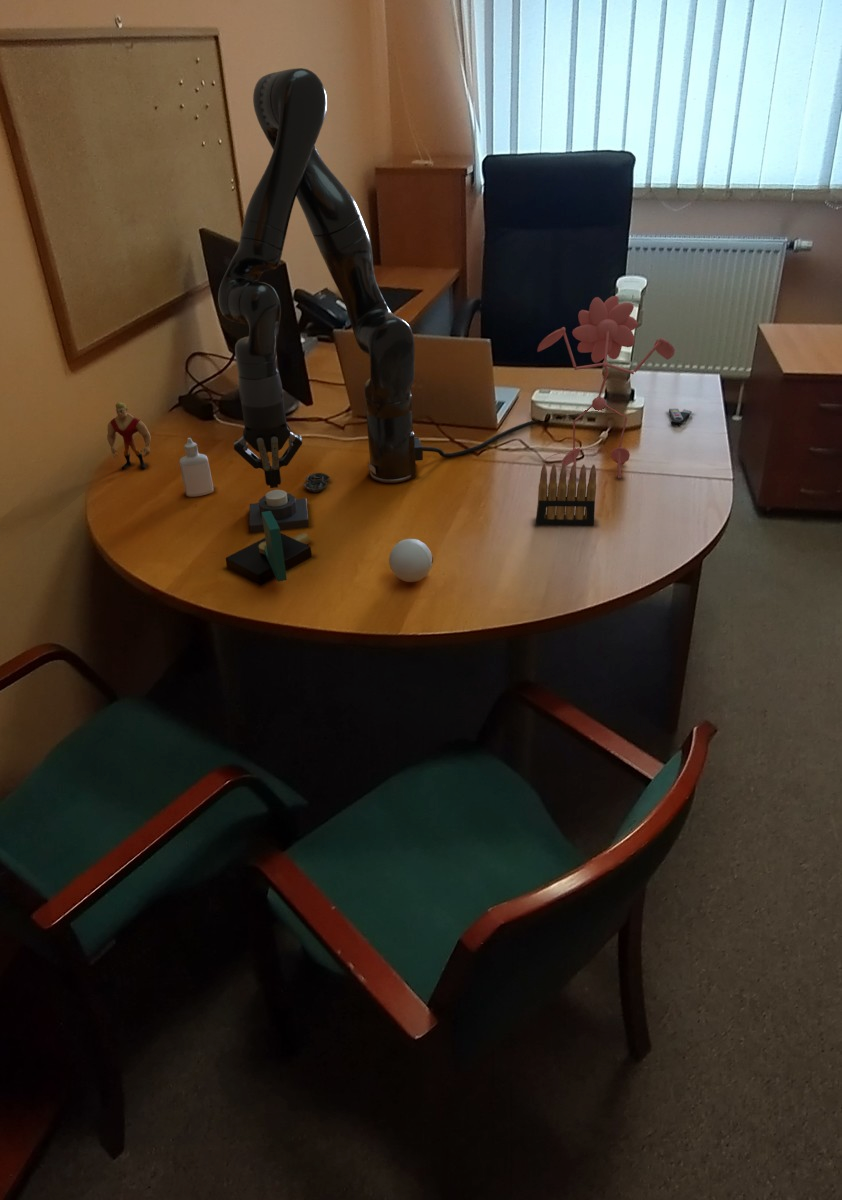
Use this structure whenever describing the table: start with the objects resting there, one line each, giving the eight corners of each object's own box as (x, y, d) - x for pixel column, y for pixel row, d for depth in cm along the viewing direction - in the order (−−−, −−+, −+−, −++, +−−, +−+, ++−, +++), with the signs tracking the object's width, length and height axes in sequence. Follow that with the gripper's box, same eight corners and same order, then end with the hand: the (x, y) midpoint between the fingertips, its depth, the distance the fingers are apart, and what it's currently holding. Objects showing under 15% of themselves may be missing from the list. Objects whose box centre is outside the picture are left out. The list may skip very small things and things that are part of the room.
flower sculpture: (661, 479, 172) (687, 303, 152) (535, 483, 172) (544, 308, 153) (644, 448, 185) (665, 282, 165) (526, 452, 185) (534, 287, 165)
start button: (287, 496, 163) (286, 488, 162) (288, 506, 159) (286, 498, 158) (266, 498, 162) (265, 490, 161) (266, 508, 159) (265, 500, 158)
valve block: (290, 535, 157) (288, 525, 156) (323, 550, 152) (322, 540, 151) (227, 568, 148) (225, 557, 147) (260, 585, 143) (258, 574, 142)
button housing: (307, 505, 167) (304, 487, 165) (309, 527, 160) (306, 508, 158) (251, 511, 166) (248, 493, 164) (250, 533, 159) (247, 514, 156)
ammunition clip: (536, 525, 158) (539, 466, 151) (535, 520, 159) (538, 462, 153) (593, 525, 157) (599, 466, 150) (593, 521, 159) (598, 462, 152)
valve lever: (257, 547, 149) (249, 497, 143) (274, 544, 150) (267, 494, 144) (273, 583, 139) (265, 530, 134) (291, 579, 140) (283, 526, 134)
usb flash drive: (680, 426, 194) (680, 422, 193) (657, 422, 196) (658, 418, 196) (692, 414, 200) (692, 410, 199) (670, 410, 202) (671, 406, 202)
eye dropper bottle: (209, 498, 171) (198, 443, 164) (183, 497, 172) (171, 442, 165) (216, 488, 175) (206, 434, 168) (191, 487, 176) (180, 433, 169)
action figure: (110, 470, 184) (93, 404, 175) (116, 463, 187) (100, 398, 178) (153, 470, 183) (138, 404, 175) (158, 463, 186) (143, 398, 178)
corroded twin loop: (302, 494, 171) (302, 489, 171) (307, 477, 178) (306, 472, 177) (327, 493, 171) (327, 488, 170) (330, 476, 178) (330, 471, 177)
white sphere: (436, 588, 141) (435, 550, 137) (392, 592, 140) (390, 554, 136) (428, 557, 149) (427, 521, 145) (386, 561, 149) (384, 525, 145)
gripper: (298, 387, 153) (308, 474, 163) (225, 393, 152) (239, 480, 161) (300, 402, 147) (310, 491, 157) (223, 408, 145) (238, 498, 155)
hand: (273, 486), depth 159 cm, fingers closed
